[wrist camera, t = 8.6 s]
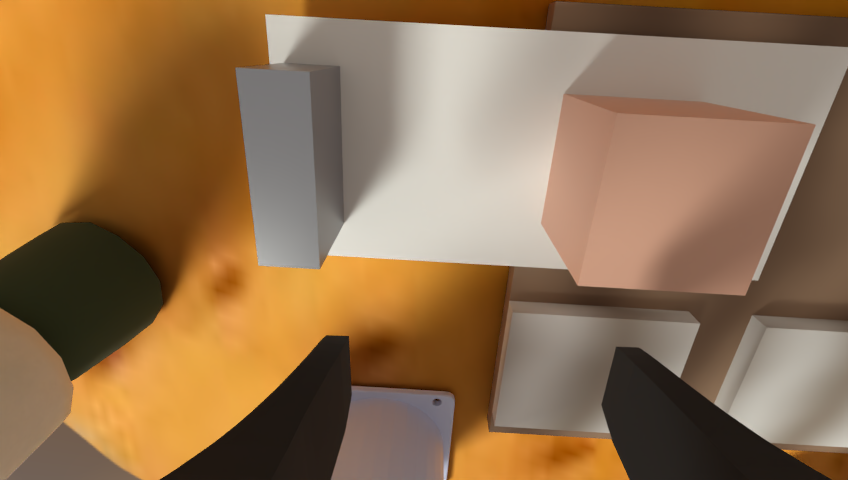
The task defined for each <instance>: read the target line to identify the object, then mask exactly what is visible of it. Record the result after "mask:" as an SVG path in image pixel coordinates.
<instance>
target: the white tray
mask: <svg viewBox="0 0 848 480" xmlns="http://www.w3.org/2000/svg"><path fill="white" fill-rule="evenodd" d="M265 16H266V28H267V39H268V51H269V62H270V64H267V65H257V66H246V67H236V68H235V69H236V78H237V86H238V95H239V103H240V112H241V120H242V129H243V137H244V146H245V154H246V163H247V171H248V180H249V188H250V197H251V205H252V214H253V222H254V231H255V239H256V248H257V256H258V265H259V266H275V267H292V268H309V269H320V268H321V266H322V264H323V262H324V260H325V258H326V257H327V255H332V256H349V257H366V258H383V259H400V260H417V261H434V262H451V263H468V264H485V265H502V266H519V267H535V268H552V269H568V268H567V267H566V265H565V263H564V262H563V260H562V258H561V257H560V255H559V253H558V252H557V250H556V248H555V246H554V245H553V243H552V241H551V240H550V238H549V236H548V235H547V233H546V231H545V230H544V228H543V226H542V224H541V221H542V215H543V209H544V203H545V198H546V192H547V186H548V181H549V175H550V169H551V163H552V158H553V152H554V146H555V141H556V135H557V129H558V123H559V118H560V112H561V106H562V101H563V95H564V94H575V95H593V96H610V97H628V98H645V99H663V100H680V101H698V102H707V103H712V104H717V105H722V106H727V107H732V108H737V109H741V110H746V111H751V112H756V113H761V114H766V115H771V116H776V117H781V118H786V119H791V120H796V121H801V122H806V123H810V124H815V125H816V126H815V128H814V131H813V133H812V135H811V138H810V140H809V143H808V145H807V148H806V150H805V152H804V155H803V157H802V160H801V162H800V165H799V167H798V169H797V172H796V174H795V177H794V179H793V181H792V184H791V186H790V189H789V191H788V194H787V196H786V198H785V201H784V203H783V206H782V208H781V211H780V213H779V215H778V218H777V220H776V223H775V225H774V227H773V230H772V232H771V235H770V237H769V240H768V242H767V244H766V247H765V249H764V252H763V254H762V256H761V259H760V261H759V264H758V266H757V269H756V271H755V273H754V276H753V278H752V280H756V281H758V280H759V277H760V275H761V272H762V270H763V268H764V265H765V263H766V261H767V258H768V256H769V253H770V251H771V249H772V246H773V244H774V241H775V239H776V237H777V234H778V232H779V230H780V227H781V225H782V222H783V220H784V218H785V215H786V213H787V211H788V208H789V206H790V203H791V201H792V199H793V196H794V194H795V191H796V189H797V187H798V184H799V182H800V180H801V177H802V175H803V172H804V170H805V168H806V165H807V163H808V161H809V158H810V156H811V153H812V151H813V149H814V146H815V144H816V142H817V139H818V137H819V134H820V132H821V130H822V127H823V125H824V122H825V120H826V118H827V115H828V113H829V111H830V108H831V106H832V103H833V101H834V99H835V96H836V94H837V92H838V89H839V87H840V84H841V82H842V80H843V77H844V75H845V72H846V70H847V68H848V47H834V46H817V45H799V44H781V43H764V42H746V41H728V40H711V39H693V38H675V37H657V36H640V35H622V34H604V33H587V32H569V31H551V30H534V29H516V28H498V27H481V26H463V25H445V24H427V23H410V22H392V21H374V20H357V19H339V18H321V17H304V16H286V15H268V14H265Z"/></svg>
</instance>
